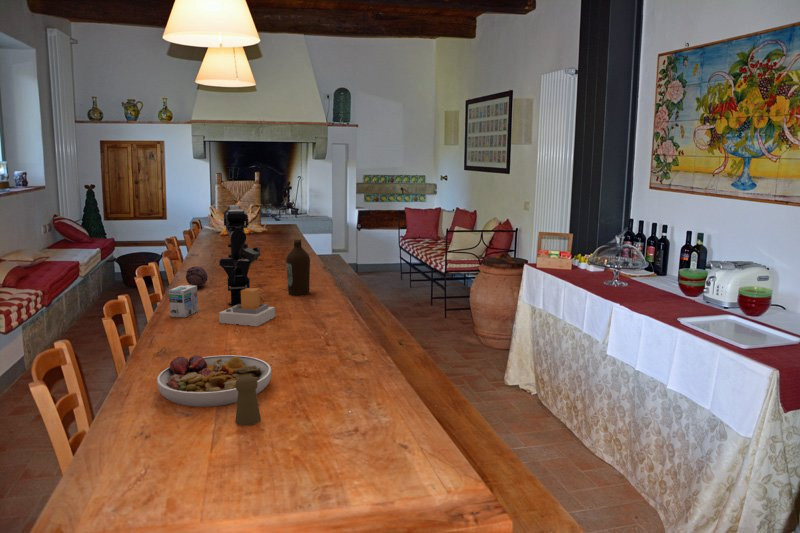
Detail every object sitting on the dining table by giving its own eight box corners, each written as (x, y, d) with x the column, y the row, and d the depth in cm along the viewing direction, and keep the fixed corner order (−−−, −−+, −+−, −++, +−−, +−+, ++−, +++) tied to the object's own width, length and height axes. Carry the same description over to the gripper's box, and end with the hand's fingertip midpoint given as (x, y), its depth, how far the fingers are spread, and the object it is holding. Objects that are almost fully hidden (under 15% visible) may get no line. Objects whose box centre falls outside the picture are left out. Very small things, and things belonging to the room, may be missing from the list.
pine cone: (209, 290, 298) (208, 269, 296) (187, 291, 295) (186, 270, 293) (206, 282, 314) (205, 262, 312) (185, 284, 311) (184, 263, 309)
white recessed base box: (238, 313, 256) (238, 300, 255) (275, 317, 251) (274, 303, 250) (219, 323, 242) (218, 308, 241) (257, 326, 238) (256, 312, 237)
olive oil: (307, 290, 298) (306, 236, 294) (313, 295, 289) (312, 239, 284) (284, 292, 294) (283, 238, 289) (290, 297, 284) (288, 241, 280)
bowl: (291, 378, 186) (290, 352, 184) (231, 418, 158) (230, 388, 157) (203, 366, 196) (202, 341, 194) (133, 402, 168) (130, 373, 166)
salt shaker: (248, 413, 160) (247, 371, 158) (266, 419, 157) (264, 376, 155) (230, 421, 156) (227, 378, 154) (247, 427, 152) (245, 383, 150)
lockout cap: (248, 308, 249) (247, 287, 247) (259, 308, 247) (259, 288, 246) (241, 311, 244) (240, 290, 243) (253, 312, 243) (252, 291, 241)
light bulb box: (185, 317, 250) (183, 290, 248) (169, 317, 251) (167, 290, 249) (199, 311, 260) (197, 285, 258) (183, 310, 261) (182, 284, 259)
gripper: (243, 245, 242) (245, 286, 245) (267, 239, 260) (268, 277, 263) (217, 244, 246) (219, 284, 248) (242, 238, 263) (244, 275, 266)
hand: (239, 280), depth 256 cm, fingers open, 9 cm apart
